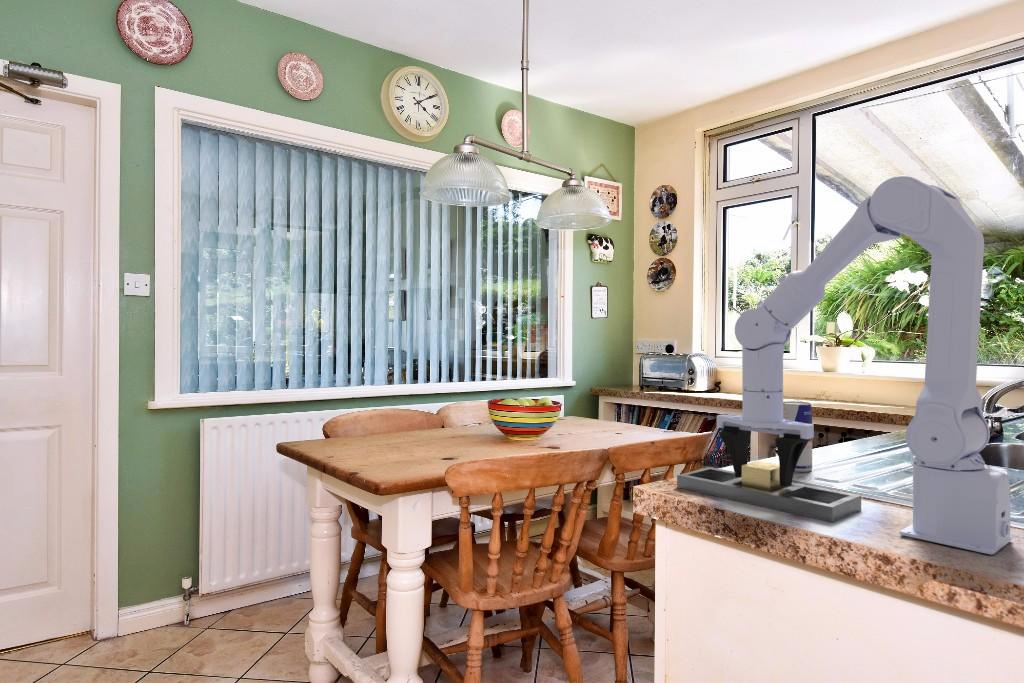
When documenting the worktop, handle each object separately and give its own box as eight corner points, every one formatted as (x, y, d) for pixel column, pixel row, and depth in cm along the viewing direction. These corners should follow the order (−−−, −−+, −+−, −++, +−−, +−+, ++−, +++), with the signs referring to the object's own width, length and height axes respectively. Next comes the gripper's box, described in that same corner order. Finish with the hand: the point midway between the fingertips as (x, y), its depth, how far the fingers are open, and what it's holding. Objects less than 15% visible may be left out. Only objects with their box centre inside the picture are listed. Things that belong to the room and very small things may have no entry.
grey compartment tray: (861, 509, 90) (861, 495, 90) (832, 522, 84) (832, 507, 84) (709, 478, 109) (708, 467, 109) (677, 487, 103) (677, 475, 103)
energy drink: (815, 473, 112) (815, 404, 112) (783, 472, 113) (783, 404, 113) (808, 466, 117) (807, 401, 117) (776, 465, 118) (776, 401, 118)
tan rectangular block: (785, 498, 96) (785, 465, 96) (770, 504, 93) (770, 470, 93) (757, 492, 100) (757, 460, 100) (741, 498, 97) (741, 465, 97)
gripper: (823, 391, 93) (823, 484, 93) (733, 385, 104) (734, 468, 104) (800, 395, 89) (800, 493, 89) (708, 388, 100) (709, 475, 100)
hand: (762, 480), depth 96 cm, fingers open, 7 cm apart
